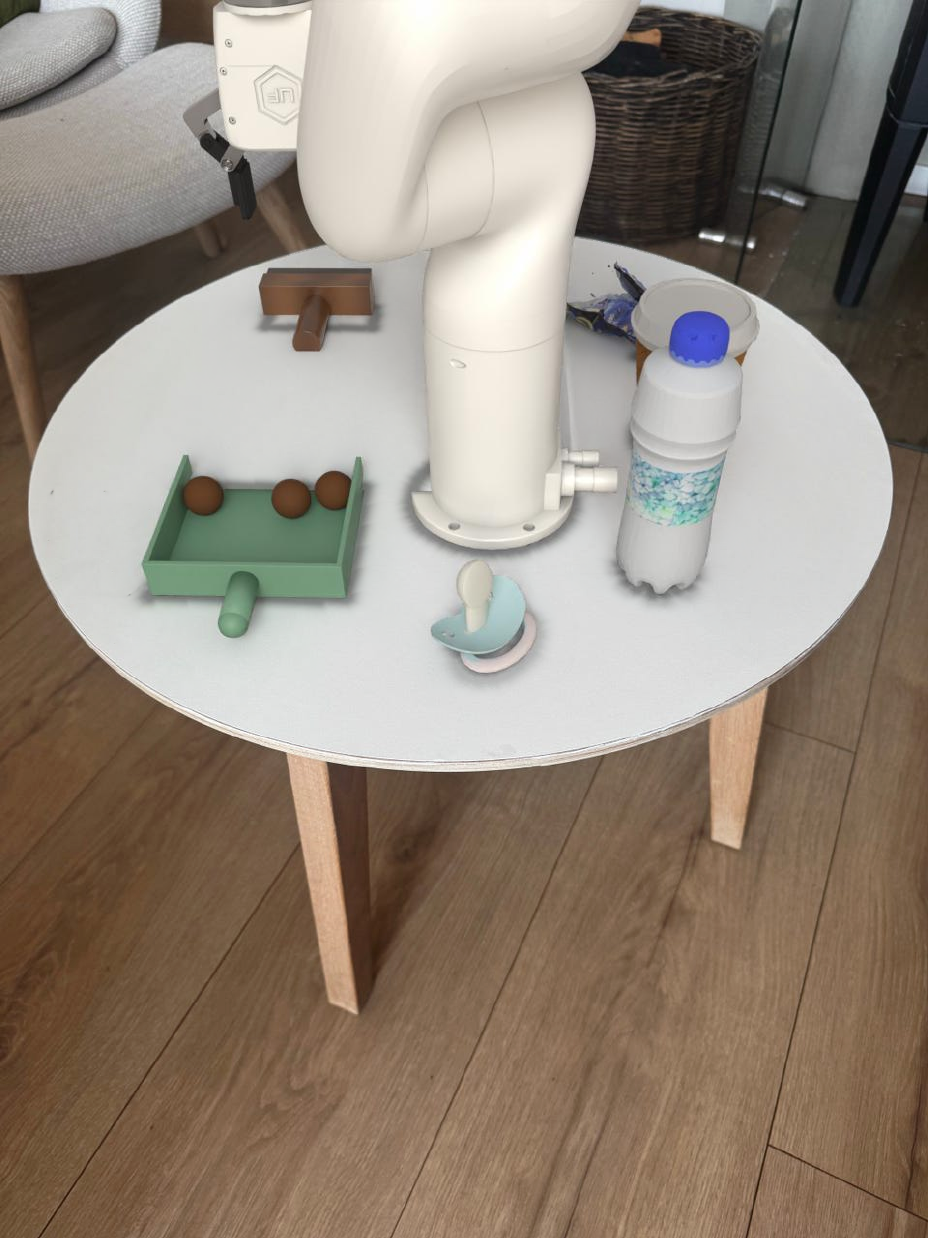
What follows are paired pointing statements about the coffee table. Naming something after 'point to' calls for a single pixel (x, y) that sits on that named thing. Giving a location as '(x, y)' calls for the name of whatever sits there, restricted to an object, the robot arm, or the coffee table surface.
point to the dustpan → (251, 549)
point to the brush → (316, 298)
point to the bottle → (678, 452)
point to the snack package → (611, 308)
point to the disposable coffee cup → (686, 296)
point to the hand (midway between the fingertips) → (305, 212)
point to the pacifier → (486, 619)
